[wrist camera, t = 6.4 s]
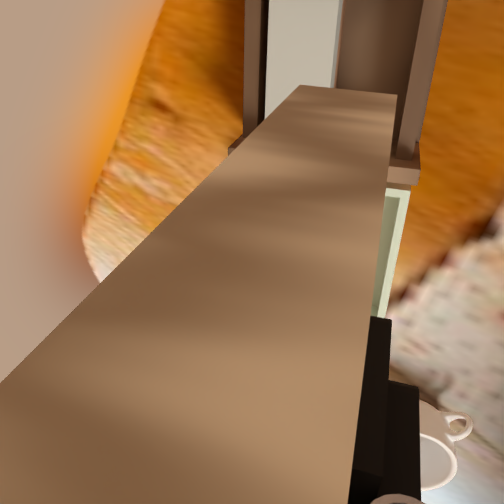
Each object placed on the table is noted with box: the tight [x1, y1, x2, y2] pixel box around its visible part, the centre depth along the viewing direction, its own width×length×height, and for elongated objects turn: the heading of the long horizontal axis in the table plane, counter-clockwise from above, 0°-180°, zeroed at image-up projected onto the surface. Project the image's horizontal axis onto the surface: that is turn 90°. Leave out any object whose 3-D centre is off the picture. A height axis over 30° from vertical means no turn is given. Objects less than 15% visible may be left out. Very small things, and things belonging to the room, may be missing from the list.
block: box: [0, 85, 397, 504], centre depth 11 cm, size 3×9×15 cm, turn 177°
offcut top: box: [265, 0, 343, 119], centre depth 30 cm, size 4×8×2 cm, turn 178°
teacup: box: [419, 400, 473, 491], centre depth 44 cm, size 10×8×5 cm
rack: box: [228, 0, 448, 186], centre depth 30 cm, size 12×12×6 cm
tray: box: [371, 182, 411, 318], centre depth 39 cm, size 12×12×2 cm
